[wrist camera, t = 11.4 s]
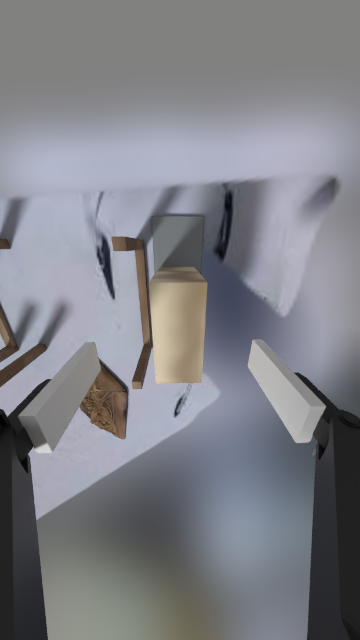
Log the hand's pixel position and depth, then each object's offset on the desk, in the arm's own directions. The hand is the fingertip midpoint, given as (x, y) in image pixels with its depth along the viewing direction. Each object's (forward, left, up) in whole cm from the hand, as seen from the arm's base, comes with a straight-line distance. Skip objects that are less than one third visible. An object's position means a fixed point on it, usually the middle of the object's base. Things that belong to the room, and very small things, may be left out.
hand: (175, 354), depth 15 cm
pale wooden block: (0, 0, -14) cm, 14 cm away
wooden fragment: (-15, -22, -15) cm, 31 cm away
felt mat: (0, 0, -15) cm, 15 cm away
